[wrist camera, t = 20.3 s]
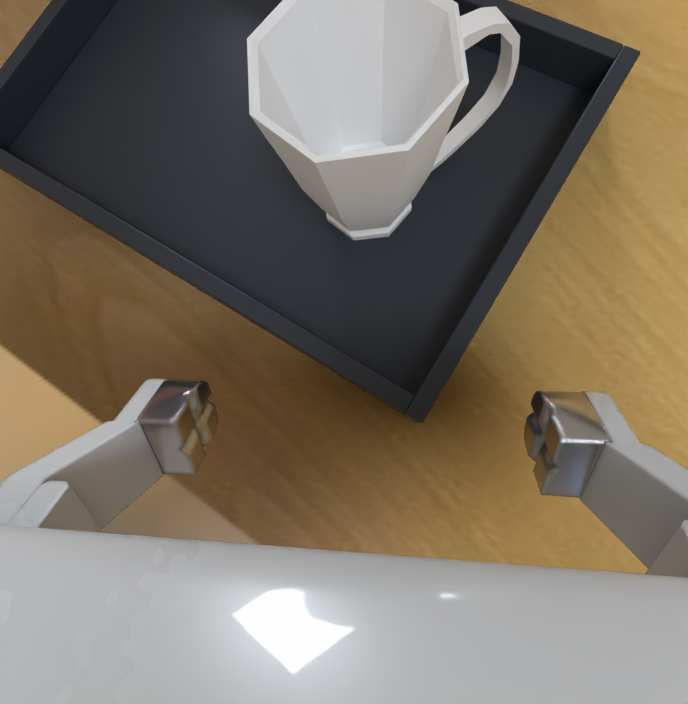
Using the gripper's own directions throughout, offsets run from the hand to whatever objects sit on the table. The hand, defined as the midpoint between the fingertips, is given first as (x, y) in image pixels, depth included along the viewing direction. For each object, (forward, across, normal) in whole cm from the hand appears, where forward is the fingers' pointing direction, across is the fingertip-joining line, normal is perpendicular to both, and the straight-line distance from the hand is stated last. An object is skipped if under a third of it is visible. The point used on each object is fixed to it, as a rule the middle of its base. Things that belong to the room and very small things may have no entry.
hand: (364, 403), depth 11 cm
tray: (+17, +6, -4) cm, 18 cm away
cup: (+14, -1, -2) cm, 14 cm away
